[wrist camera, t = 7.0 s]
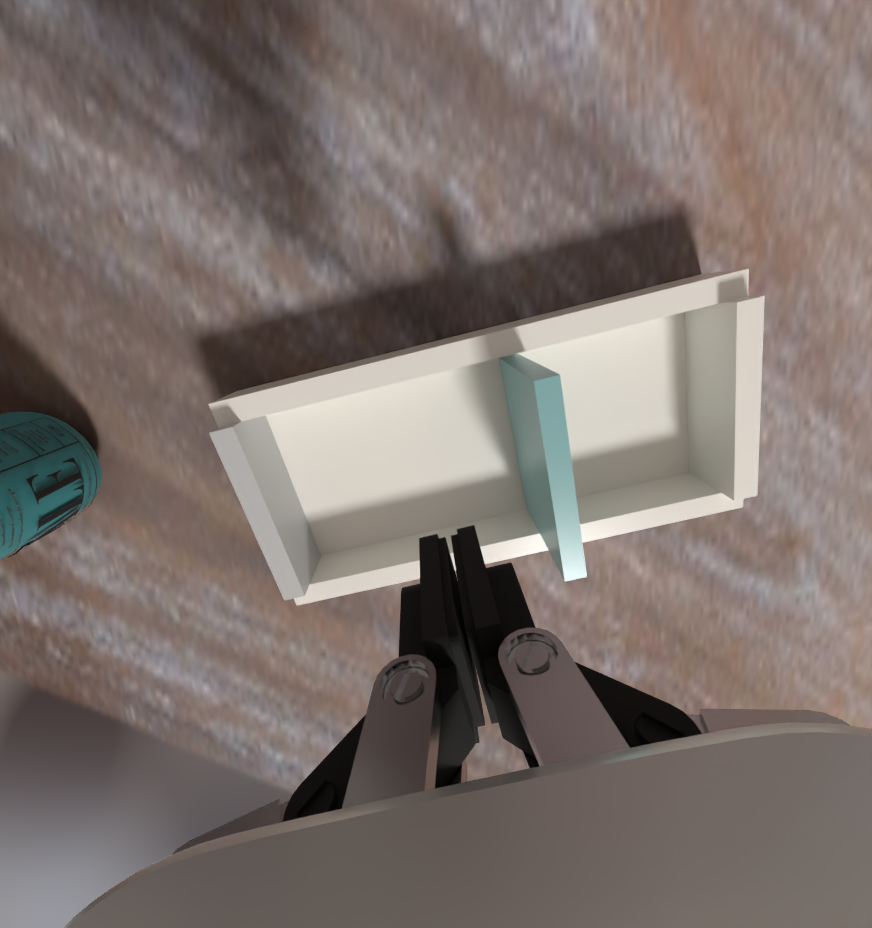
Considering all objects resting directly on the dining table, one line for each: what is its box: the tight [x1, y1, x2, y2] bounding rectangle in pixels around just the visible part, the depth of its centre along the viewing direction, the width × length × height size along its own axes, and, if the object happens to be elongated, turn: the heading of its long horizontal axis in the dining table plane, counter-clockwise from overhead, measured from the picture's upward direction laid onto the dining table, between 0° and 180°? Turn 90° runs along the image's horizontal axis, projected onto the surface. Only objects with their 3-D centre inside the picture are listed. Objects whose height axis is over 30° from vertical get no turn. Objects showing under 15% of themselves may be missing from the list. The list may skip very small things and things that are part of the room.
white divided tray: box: [209, 269, 765, 605], centre depth 23 cm, size 12×26×4 cm, turn 103°
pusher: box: [499, 353, 587, 581], centre depth 21 cm, size 9×1×8 cm, turn 13°
